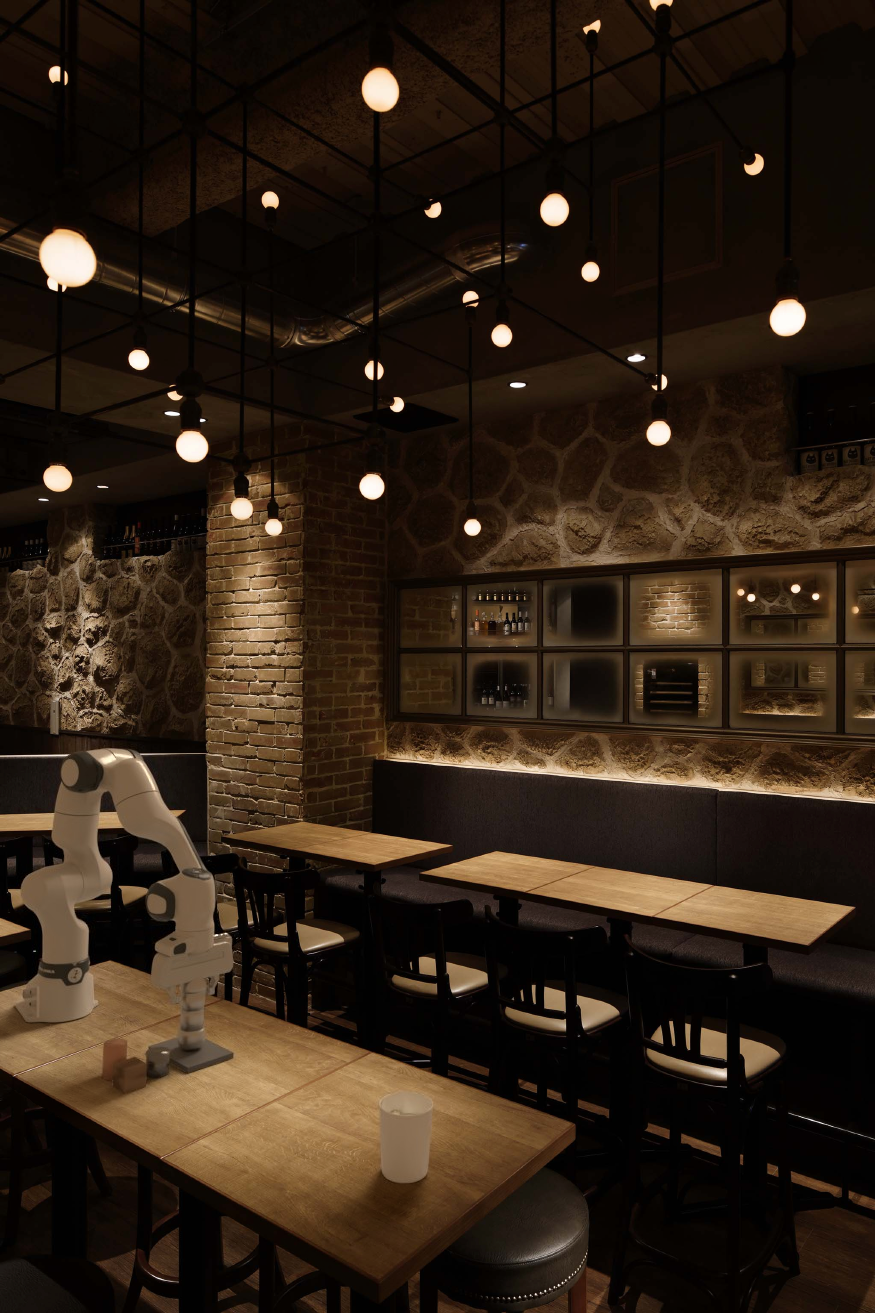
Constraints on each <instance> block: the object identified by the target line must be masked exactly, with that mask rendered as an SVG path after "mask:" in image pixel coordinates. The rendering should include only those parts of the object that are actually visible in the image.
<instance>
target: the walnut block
mask: <svg viewBox="0 0 875 1313" xmlns="http://www.w3.org/2000/svg"><path fill="white" fill-rule="evenodd" d="M146 1070H147V1063H146V1061H143V1060H141V1059H140V1058H138V1057H136V1056H133V1057H129V1058H127V1059H126V1060H123V1061H120V1062H116V1063H113V1080H112V1084H111V1085H112V1086H111V1087H112V1088H114V1089H115V1090H117V1091H119V1092H120V1093H122V1094H124V1095H126V1093H127V1094H129V1093H131V1092H134V1091H138V1090H141V1089H143V1088H147V1077H146Z"/></svg>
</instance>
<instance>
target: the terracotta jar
mask: <svg viewBox="0 0 875 1313" xmlns="http://www.w3.org/2000/svg"><path fill="white" fill-rule="evenodd" d="M102 1046H103V1049H102V1069H101V1078H102V1079H103V1080H107V1081H113V1063H116V1062H120V1061H123V1060H126V1059H128V1040H127V1039H125V1038H111V1039H108V1040H106V1041H104V1042H103V1045H102Z"/></svg>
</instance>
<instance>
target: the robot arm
mask: <svg viewBox="0 0 875 1313" xmlns="http://www.w3.org/2000/svg"><path fill="white" fill-rule="evenodd" d="M59 776H60V781H61V782H60V784H59V787H58V792H57V796H56V799H55V805H54V813H53V821H52V829H51V840H52V842H53V843H54V845H55V846H57V847H58V848H60V849H62V851H63V855H64V857H63V863H58V864H54V865H49V866H44V867H41V868H40V869H38V870H35V871H33V872H31V873H29V874H28V875H26V876H25V878H24V879H23V881H22V883H21V886H20V897H21V900H22V902H23V904H24V905H25V906H26V907H27V908H28V909H29V910H30V911H31V912H33V913H34V914H35V915H36V916H37V918H38V921H39V923H40V926H41V931H42V958H39V959H38V960H39V962H38V963H39V965H38V970H37V974H36V975H35V976H34V977H32V979H30V980H29V981H28V982H27V984H26V986H25V989H23V990H22V999H19V1000H17V1001H16V1002H15V1005H14V1007H15V1008H16V1010H17V1011H18V1012H19V1014H20V1016H22V1019H24V1021H25V1022H26V1023H62V1022H63V1023H64V1022H70V1021H75V1020H78V1019H81V1018H84V1017H86V1016H88V1015H90V1013H92V1012H93V1009H94V1008H95V1007H97V1006H99V1001H98V1000H97V999H95V993H94V989H95V988H94V975H93V974H92V973H90V972H89V971H90V964H91V961H90V956H89V939H90V938H89V933H90V930H89V927H88V924H86V922H85V921H83V920H82V919H81V918H80V919H79V918H78V917H77V915H76V913H75V912H76V911H75V906H76V905H75V904H80V903H83V902H86V901H91V900H94V899H95V898H98V897H100V896H101V895H103V894H104V893H106V892H107V891H108V890H110V888H111V886H112V884H113V883H112V882H113V871H112V869H111V866H110V865H109V864H108V862H107V861H106V860H104V859H103V857H102V855H101V854H100V851H99V846H98V830H99V819H100V812H101V801H102V800H101V799H102V796H103V794H104V793H106V792H107V793H108V792H109V793H110V795H111V797H112V798H111V799H112V801H113V802H112V803H113V805H114V808H115V811H116V815H117V818H118V820H119V822H120V824H121V826H122V828H123V829H124V830H125V831H126V832H127V833H130V834H131V835H132V836H136V837H138V838H142V839H147V840H151V841H153V842H155V843H156V842H157V843H158V844H161V845H162V846H163V847H165V848H167V850H168V851H169V853H170V854H171V856H172V860H173V861H174V863H175V864H176V867H177V868H178V870H179V873H178V874H176V875H174V876H172V877H169V878H165V879H163V880H158V881H157V882H154V883H152V884H151V885H150V887H149V888H148V890H147V892H146V895H145V906H146V907H145V908H146V911H147V914H149V916H150V917H151V918H152V919H153V920H155V921H157V922H168V921H174V922H175V931H172V933H170V934H168V935H166V936H165V937H163V938H161V939H160V940H158V941H156V942H155V945H154V950H155V951H156V952H157V953H156V954H155V955H154V957H153V960H152V964H151V971H150V972H151V974H150V983H151V984H152V986H153V987H155V988H157V989H159V990H164V989H165V990H166V992H167V993H168V996H169V1004H170V1005H172V1006H175V1005H178V1004H179V1005H180V1004H181V999H180V995H178V994H176V992H175V991H176V990H177V986H180V984H184V983H188V982H191V981H193V980H194V979H195V978H197V977H203V978H205V979H207V978H209V979H210V981H209V983H208V984H207V990H206V995H207V996H212V995H215V989H216V986H217V984H218V983H219V981H220V975H222V974H226V973H230V972H231V971H232V970H233V967H234V958H233V957H234V956H233V954H234V953H233V949H232V947H233V946H232V945H233V938H232V936H231V935H230V934H229V933H228V932H223V933H219V934H215V922H214V913H215V908H216V902H217V899H218V895H219V894H218V892H219V890H218V884H217V883H216V881H215V879H214V876H213V874H212V872H210V871H209V870H208V869H207V868H206V866H205V864H204V862H203V861H202V859H201V857H200V855H199V853H198V851H197V849H196V847H195V844H194V843H193V841H192V839H191V837H190V835H189V833H188V831H187V829H186V827H185V826H184V824H183V823H182V821H181V820H180V819H179V818H178V817H177V816H175V815H174V814H173V813H172V812H171V811H170V809H169V808H168V806H167V804H166V803H165V801H164V800H163V798H162V795H161V793H160V792H161V791H160V790H159V787H158V785H157V783H156V780H155V778H154V776H153V774H152V772H151V770H150V769H149V767H148V766H147V764H146V762H145V761H144V758H143V756H142V754H141V753H139V752H138V751H136V750H134V749H132V748H131V749H130V748H109V747H108V748H107V747H105V748H100V749H93V750H86V751H85V750H78V751H75V752H72V753H70V754H68V755H67V756H65V757H64V758H63V760H62V762H61V765H60V768H59Z"/></svg>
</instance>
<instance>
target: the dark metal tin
mask: <svg viewBox="0 0 875 1313" xmlns="http://www.w3.org/2000/svg"><path fill="white" fill-rule="evenodd" d="M145 1055H146V1056H145V1063H147V1070H146V1079H147V1078H148V1079H150V1080H151V1079H152V1080H157V1079H163V1078H165V1077H167V1076H169V1074H170V1063H169V1059H170V1049H169V1048H167V1047H154V1048H150V1049H147V1050H146V1054H145Z"/></svg>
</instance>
